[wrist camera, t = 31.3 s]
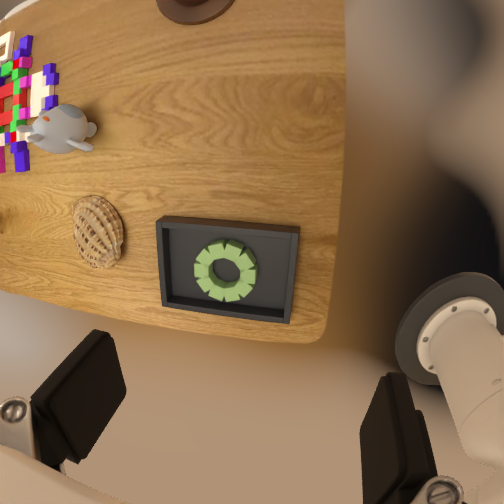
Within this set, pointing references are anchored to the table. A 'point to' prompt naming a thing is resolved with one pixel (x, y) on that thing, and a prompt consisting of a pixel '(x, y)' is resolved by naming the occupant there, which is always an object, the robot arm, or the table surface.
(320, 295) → the table surface
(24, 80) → the building block set
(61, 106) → the toy figure
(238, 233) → the tray
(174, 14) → the stand
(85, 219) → the seashell
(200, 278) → the ring
